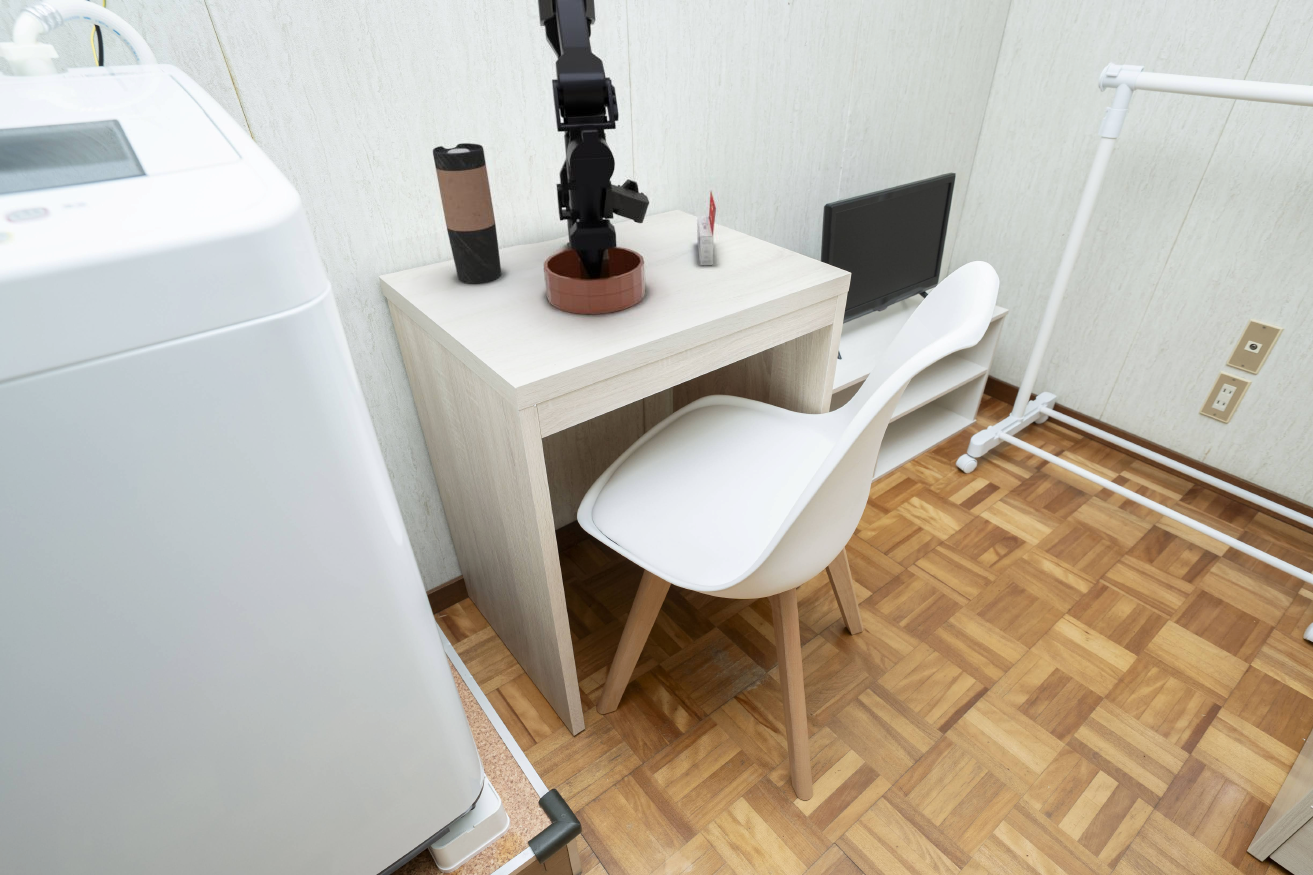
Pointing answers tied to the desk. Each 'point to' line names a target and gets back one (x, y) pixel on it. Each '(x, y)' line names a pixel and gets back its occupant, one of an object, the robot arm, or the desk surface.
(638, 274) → the bowl
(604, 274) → the block
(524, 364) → the desk surface
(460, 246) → the travel mug
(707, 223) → the ink cartridge box
